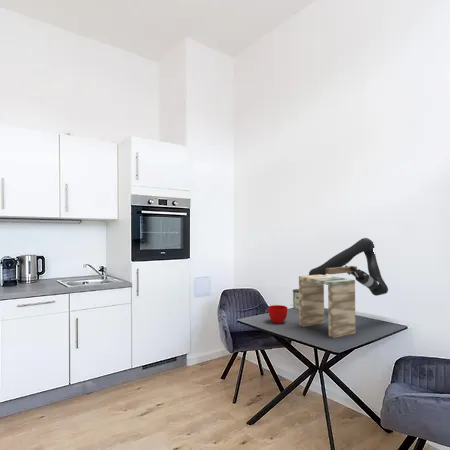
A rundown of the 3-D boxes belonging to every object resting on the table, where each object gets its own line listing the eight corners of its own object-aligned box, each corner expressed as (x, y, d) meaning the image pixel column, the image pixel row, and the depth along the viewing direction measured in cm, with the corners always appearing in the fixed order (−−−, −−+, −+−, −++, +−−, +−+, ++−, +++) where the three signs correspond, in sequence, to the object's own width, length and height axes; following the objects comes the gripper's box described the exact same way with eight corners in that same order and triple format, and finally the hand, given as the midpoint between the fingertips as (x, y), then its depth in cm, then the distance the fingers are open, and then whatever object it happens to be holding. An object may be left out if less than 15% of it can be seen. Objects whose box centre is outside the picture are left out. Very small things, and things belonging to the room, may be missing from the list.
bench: (299, 325, 225) (298, 276, 225) (319, 321, 234) (319, 274, 234) (333, 337, 199) (333, 282, 199) (355, 333, 207) (354, 280, 207)
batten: (325, 273, 210) (325, 268, 210) (352, 271, 220) (352, 266, 220) (330, 274, 206) (330, 269, 206) (357, 271, 217) (357, 266, 217)
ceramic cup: (286, 318, 243) (286, 304, 243) (288, 324, 226) (288, 309, 226) (267, 317, 244) (267, 303, 244) (268, 324, 227) (268, 309, 227)
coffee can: (304, 306, 279) (304, 288, 279) (307, 309, 268) (307, 291, 269) (291, 306, 279) (291, 289, 279) (294, 309, 268) (294, 291, 269)
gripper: (357, 272, 230) (341, 260, 223) (375, 275, 218) (359, 262, 211) (353, 282, 228) (337, 271, 221) (371, 285, 216) (355, 273, 209)
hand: (348, 267), depth 216 cm, fingers closed on batten, 4 cm apart
